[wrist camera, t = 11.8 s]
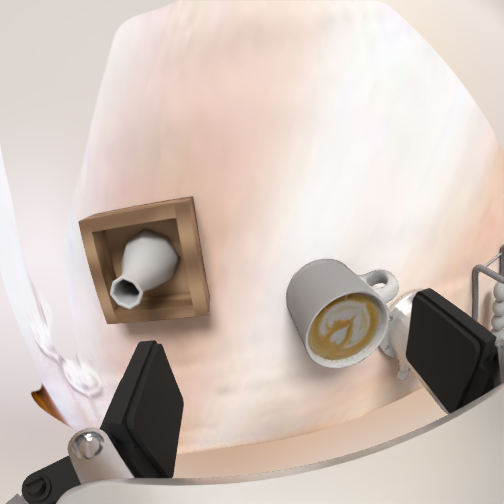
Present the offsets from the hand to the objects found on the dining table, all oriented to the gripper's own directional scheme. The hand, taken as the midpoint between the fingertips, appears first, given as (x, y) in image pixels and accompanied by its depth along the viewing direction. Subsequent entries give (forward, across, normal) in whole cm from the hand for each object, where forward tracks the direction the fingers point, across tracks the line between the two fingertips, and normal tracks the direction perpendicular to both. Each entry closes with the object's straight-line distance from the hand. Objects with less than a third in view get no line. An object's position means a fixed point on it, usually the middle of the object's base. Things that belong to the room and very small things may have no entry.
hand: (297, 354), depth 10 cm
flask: (+25, +13, +2) cm, 28 cm away
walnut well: (+26, +13, +2) cm, 29 cm away
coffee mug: (+27, -10, +11) cm, 30 cm away
